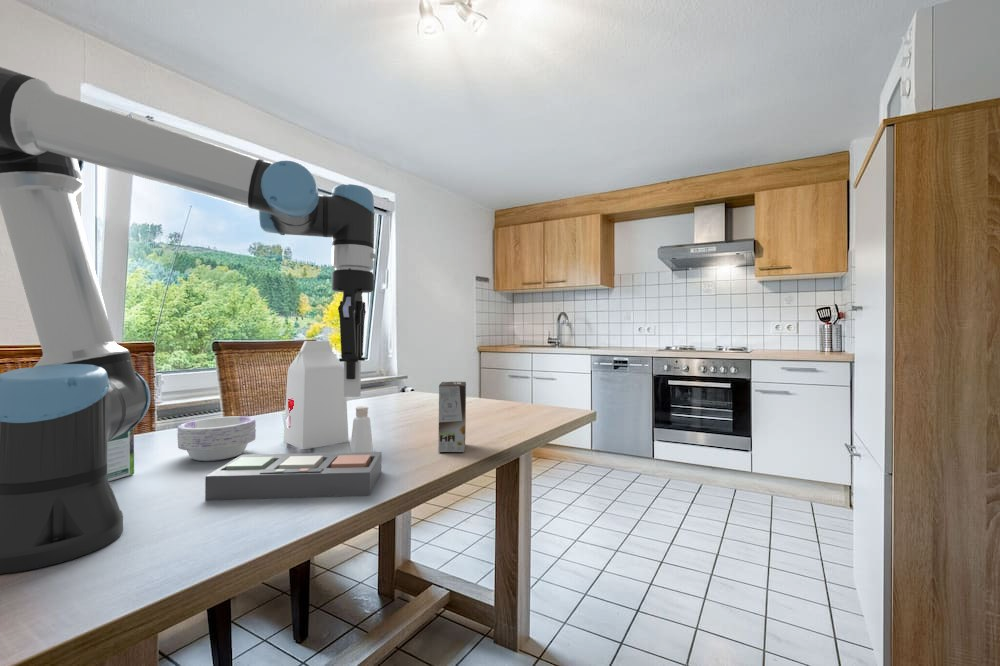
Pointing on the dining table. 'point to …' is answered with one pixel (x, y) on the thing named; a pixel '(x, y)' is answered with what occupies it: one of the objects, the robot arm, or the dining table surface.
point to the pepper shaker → (361, 432)
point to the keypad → (293, 479)
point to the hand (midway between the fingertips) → (352, 396)
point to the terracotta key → (351, 461)
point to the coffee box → (452, 416)
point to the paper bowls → (216, 437)
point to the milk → (316, 398)
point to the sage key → (251, 463)
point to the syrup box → (120, 456)
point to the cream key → (301, 462)
